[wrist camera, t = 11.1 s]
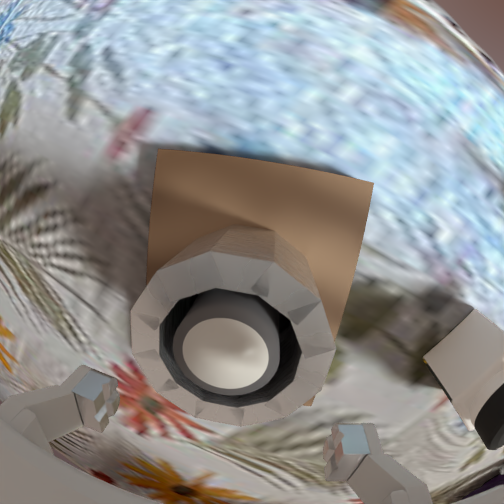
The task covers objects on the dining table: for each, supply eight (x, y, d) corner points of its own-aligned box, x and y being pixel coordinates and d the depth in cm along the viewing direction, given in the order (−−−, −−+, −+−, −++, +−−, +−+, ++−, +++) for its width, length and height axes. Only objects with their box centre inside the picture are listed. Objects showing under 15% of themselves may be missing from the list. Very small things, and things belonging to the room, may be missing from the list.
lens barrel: (297, 365, 21) (302, 433, 14) (172, 342, 21) (136, 401, 14) (329, 240, 18) (358, 276, 11) (181, 215, 19) (131, 236, 12)
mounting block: (308, 387, 24) (311, 406, 22) (157, 359, 25) (147, 375, 22) (362, 182, 19) (373, 182, 17) (171, 151, 20) (158, 148, 18)
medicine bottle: (420, 356, 23) (477, 445, 11) (474, 306, 21) (551, 372, 9) (443, 390, 24) (489, 467, 12) (491, 347, 22) (550, 410, 10)
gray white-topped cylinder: (271, 342, 19) (268, 402, 13) (198, 329, 19) (171, 384, 14) (285, 273, 18) (289, 318, 12) (205, 260, 18) (174, 297, 12)
